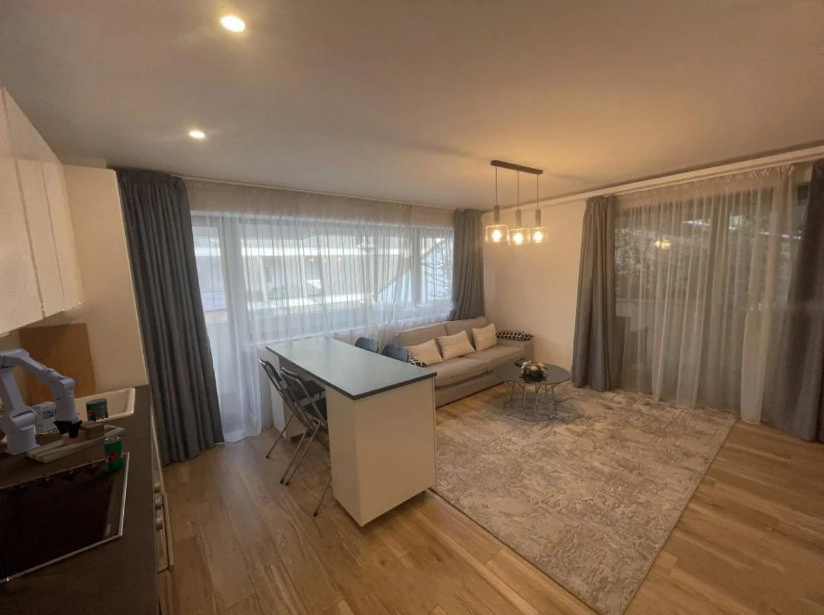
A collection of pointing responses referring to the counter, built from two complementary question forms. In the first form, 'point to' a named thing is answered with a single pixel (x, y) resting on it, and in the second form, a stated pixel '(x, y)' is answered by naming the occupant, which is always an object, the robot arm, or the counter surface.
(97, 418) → the canned tomato
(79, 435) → the bar
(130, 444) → the counter surface
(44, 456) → the pit track
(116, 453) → the soda can
